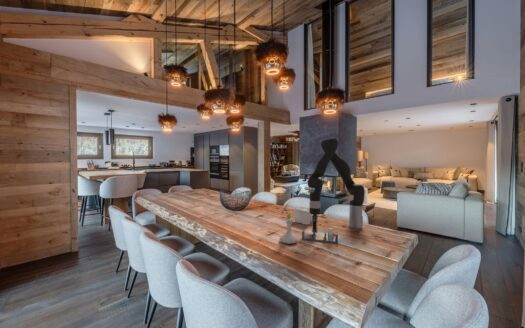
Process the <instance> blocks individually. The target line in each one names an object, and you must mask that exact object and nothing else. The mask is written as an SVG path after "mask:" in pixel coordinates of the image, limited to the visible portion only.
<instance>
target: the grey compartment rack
mask: <svg viewBox="0 0 525 328" xmlns="http://www.w3.org/2000/svg"><path fill="white" fill-rule="evenodd" d="M305 230H306V229H305V228H303V229H302V232H301V233H302V234H301V240H302V241H307V242H308V241H311V242H318V243H319V242H320V243H328V244H337V245H338V243H339V241H338V240H339V239H338V237H339V234H338V231H335V237H334V240H332V241H331V240H328V237H327V230H324V236H316V233H315V230H314V231H313V232H312V235H305Z"/></svg>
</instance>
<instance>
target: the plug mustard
mask: <svg viewBox="0 0 525 328" xmlns="http://www.w3.org/2000/svg"><path fill="white" fill-rule="evenodd" d="M312 225H313V223H311V232H312V233H313V226H312ZM314 225H316V226H317V227H316V232H315V234H316V233H318V223H317V224H314Z"/></svg>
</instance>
